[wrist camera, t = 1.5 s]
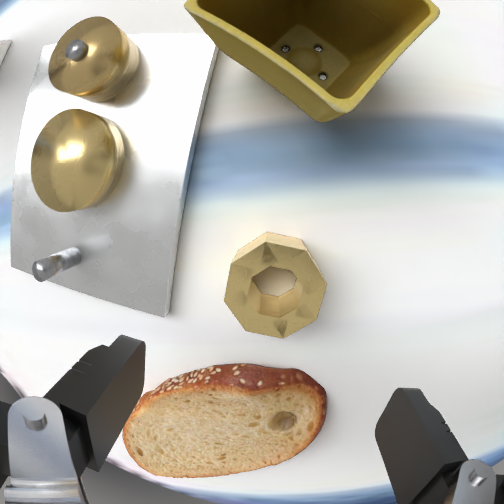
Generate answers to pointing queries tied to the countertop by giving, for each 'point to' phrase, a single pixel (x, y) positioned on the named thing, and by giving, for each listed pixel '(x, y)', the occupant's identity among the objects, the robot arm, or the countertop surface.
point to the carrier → (109, 161)
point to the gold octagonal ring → (267, 306)
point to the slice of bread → (224, 420)
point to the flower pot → (315, 44)
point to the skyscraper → (4, 48)
